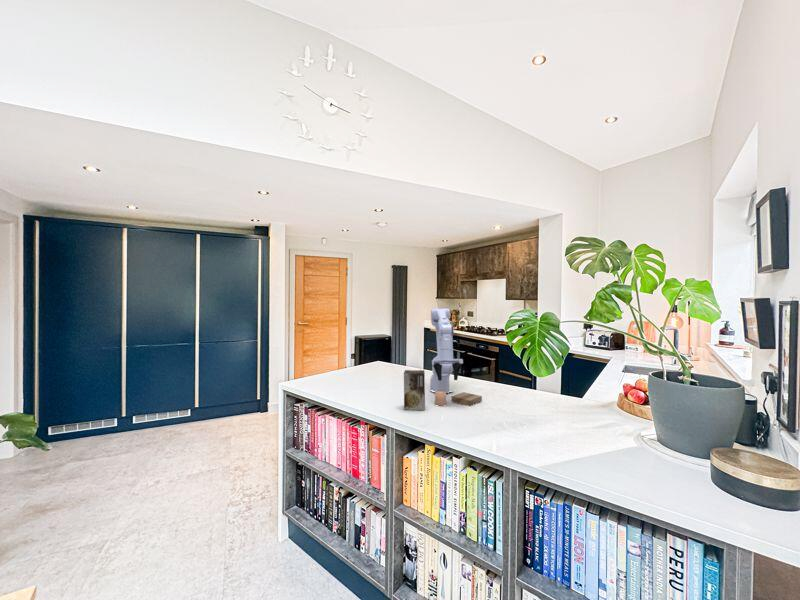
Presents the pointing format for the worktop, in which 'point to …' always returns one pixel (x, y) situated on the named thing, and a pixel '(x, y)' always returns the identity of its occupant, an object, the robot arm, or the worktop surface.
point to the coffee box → (414, 390)
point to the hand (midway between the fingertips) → (447, 380)
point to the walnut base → (466, 398)
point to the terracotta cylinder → (440, 397)
